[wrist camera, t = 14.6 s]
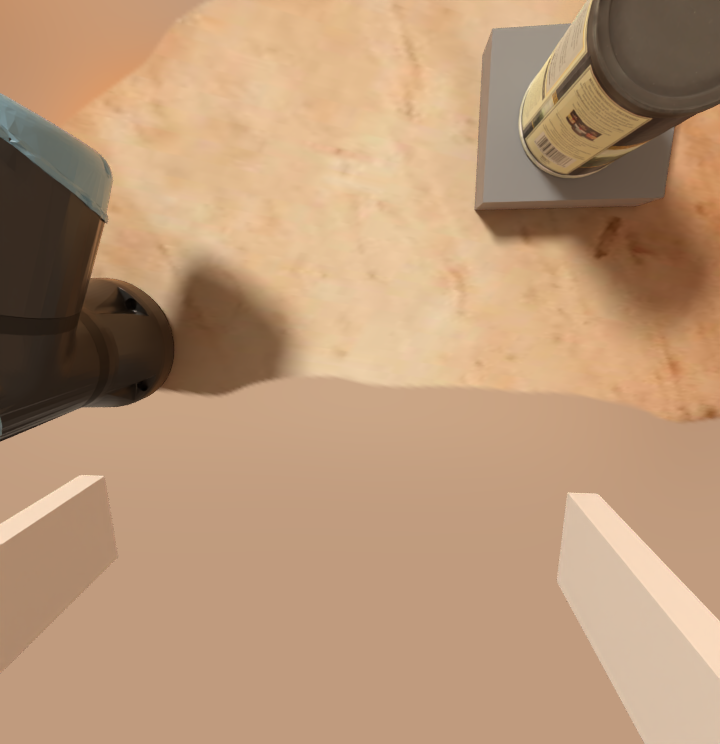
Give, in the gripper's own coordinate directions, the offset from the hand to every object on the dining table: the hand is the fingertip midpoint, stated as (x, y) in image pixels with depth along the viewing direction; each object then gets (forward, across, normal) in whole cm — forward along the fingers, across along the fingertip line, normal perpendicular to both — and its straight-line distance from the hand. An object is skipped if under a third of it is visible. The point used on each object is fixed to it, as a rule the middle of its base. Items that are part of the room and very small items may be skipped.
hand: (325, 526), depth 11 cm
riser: (+35, +18, +21) cm, 44 cm away
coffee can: (+31, +18, +21) cm, 41 cm away
